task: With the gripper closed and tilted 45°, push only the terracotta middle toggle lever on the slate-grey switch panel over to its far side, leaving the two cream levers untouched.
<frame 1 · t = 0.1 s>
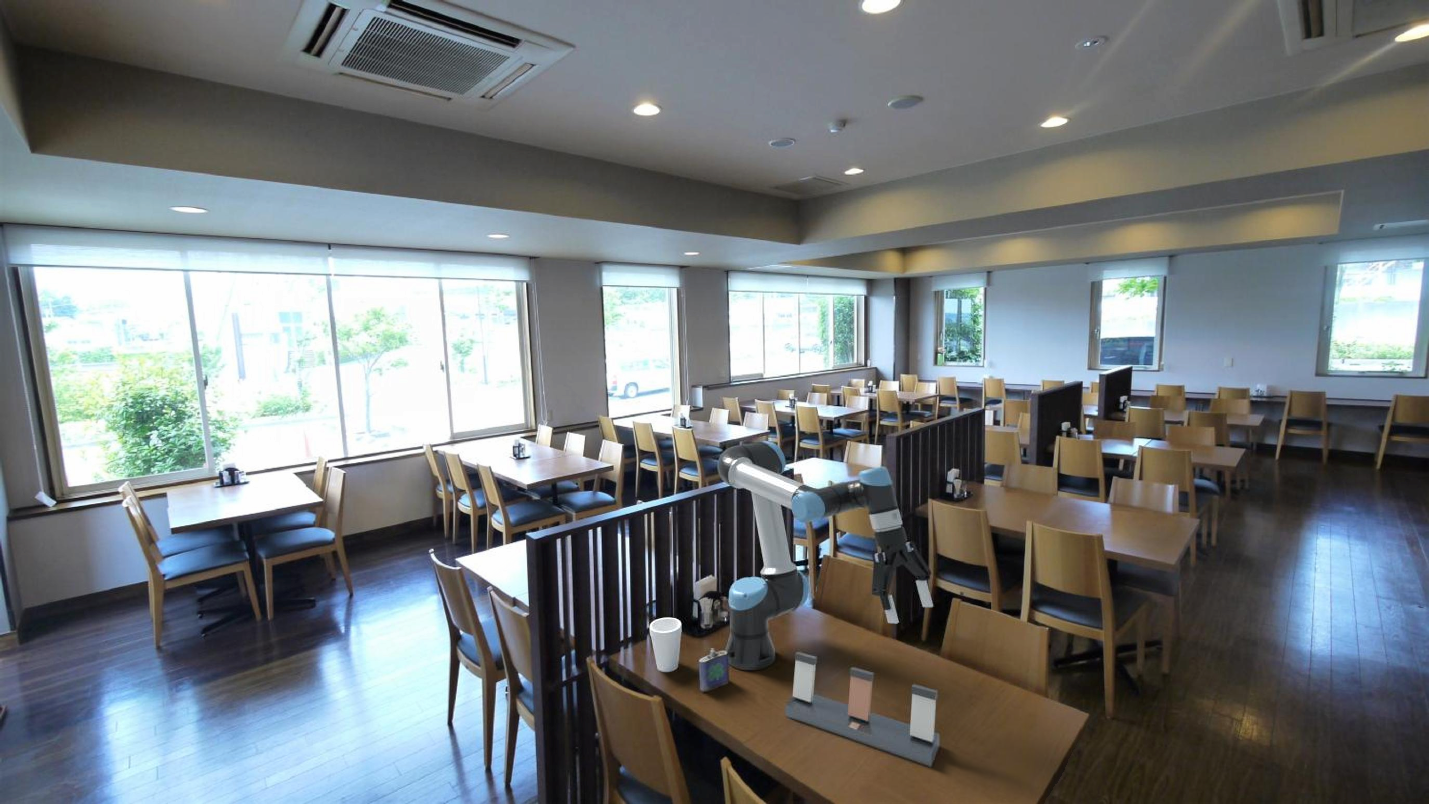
hand: (911, 614, 145), 28 cm above the table, tool tilted 20°, fingers open, 13 cm apart
switch panel: (859, 730, 145), on the table
lever middle: (860, 694, 145), point 9 cm above the table, hinge at -15.0°
lever right: (923, 713, 137), point 9 cm above the table, hinge at -15.0°
lever left: (804, 677, 153), point 9 cm above the table, hinge at -15.0°
foam cup: (667, 666, 177), on the table
flask: (714, 686, 166), on the table
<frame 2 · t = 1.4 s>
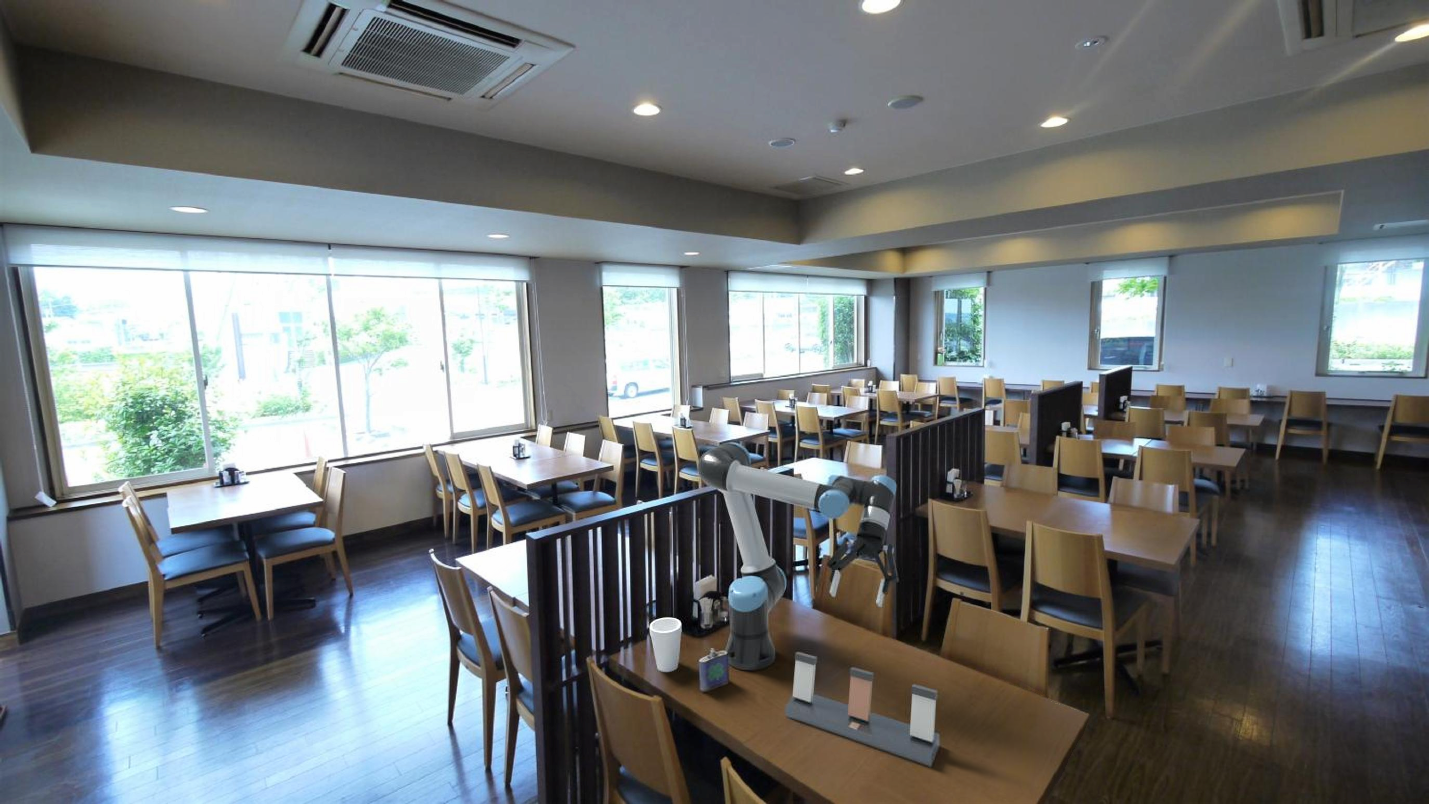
hand: (854, 599, 155), 27 cm above the table, tool tilted 45°, fingers open, 12 cm apart
nothing on the table moved.
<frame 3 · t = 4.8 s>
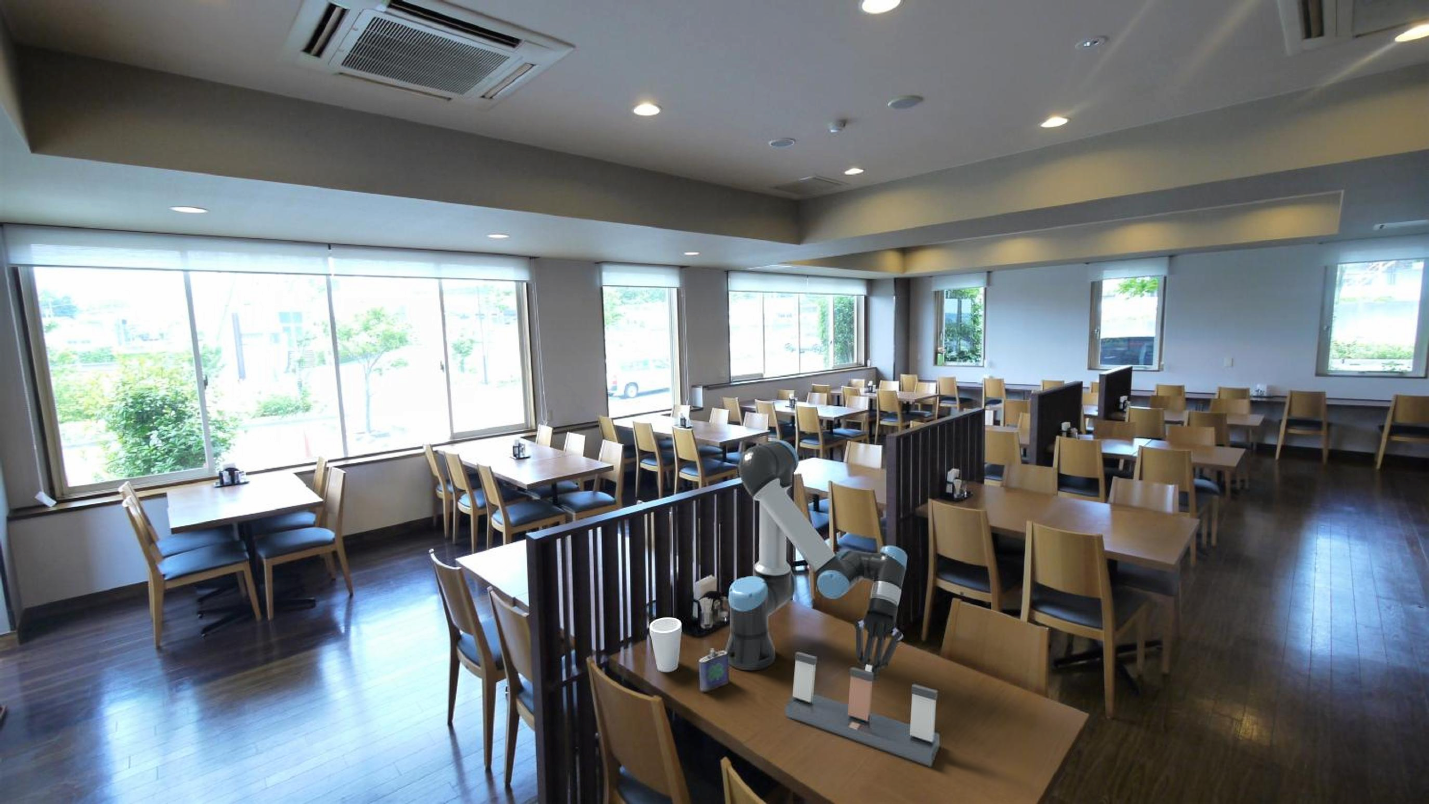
hand: (864, 693, 146), 8 cm above the table, tool tilted 45°, fingers closed
lever middle: (860, 694, 145), point 9 cm above the table, hinge at -14.8°, touching gripper
everything else where it was.
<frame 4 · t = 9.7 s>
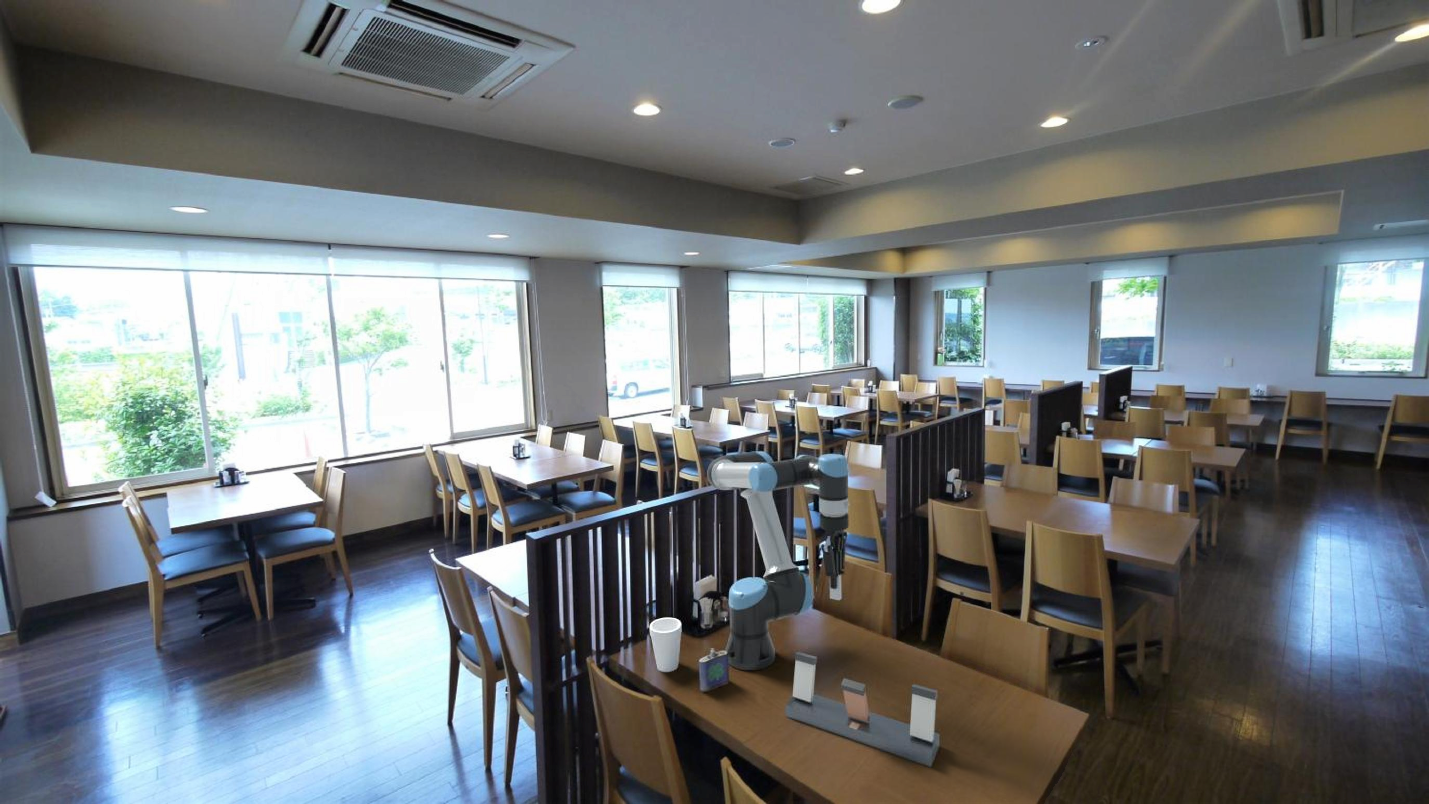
hand: (835, 598, 158), 26 cm above the table, tool pointing down, fingers closed
lever middle: (856, 701, 142), point 9 cm above the table, hinge at 18.9°
everything else where it was.
at the end: lever middle at +19° (first picture: -15°); lever left at -15° (first picture: -15°); lever right at -15° (first picture: -15°) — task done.
